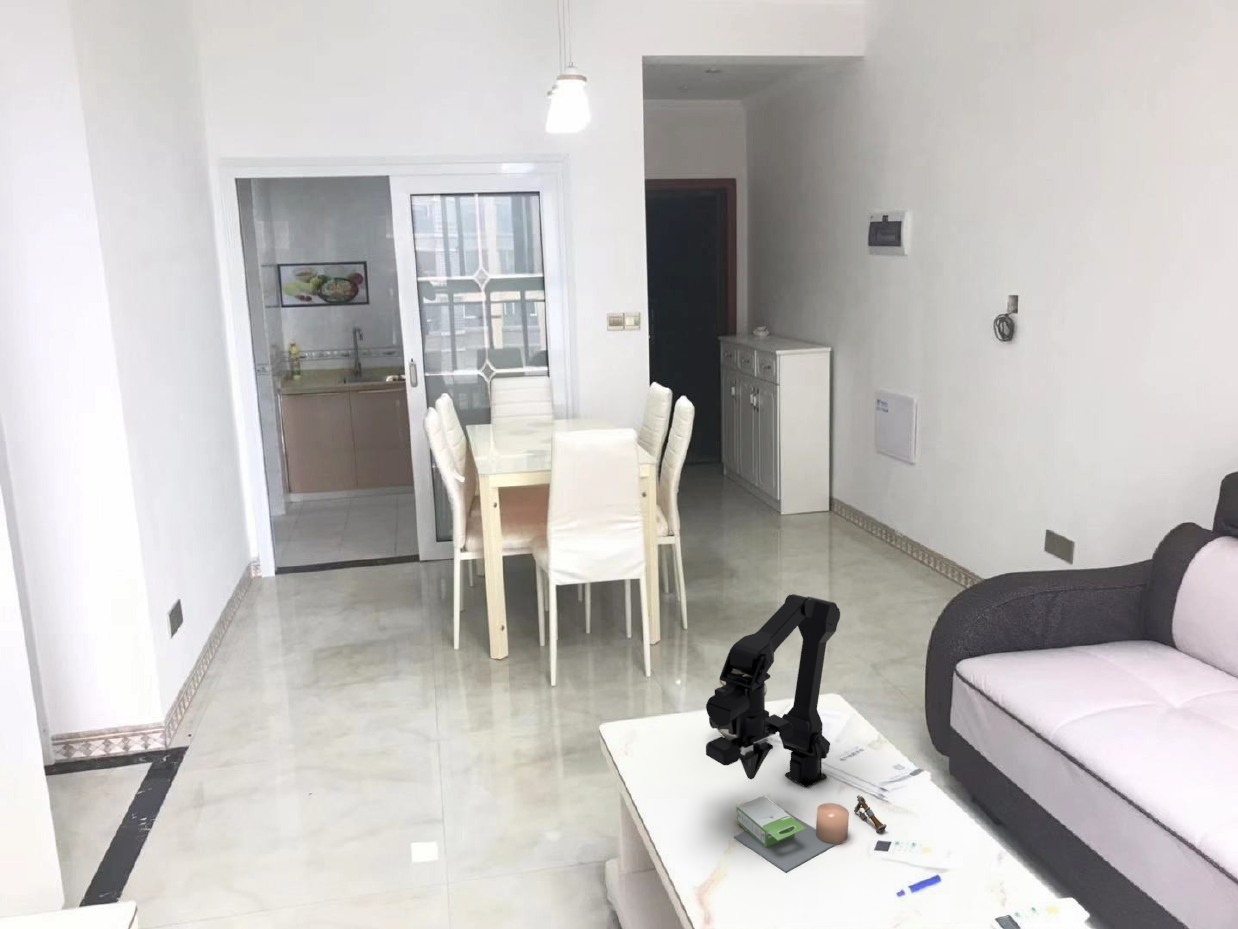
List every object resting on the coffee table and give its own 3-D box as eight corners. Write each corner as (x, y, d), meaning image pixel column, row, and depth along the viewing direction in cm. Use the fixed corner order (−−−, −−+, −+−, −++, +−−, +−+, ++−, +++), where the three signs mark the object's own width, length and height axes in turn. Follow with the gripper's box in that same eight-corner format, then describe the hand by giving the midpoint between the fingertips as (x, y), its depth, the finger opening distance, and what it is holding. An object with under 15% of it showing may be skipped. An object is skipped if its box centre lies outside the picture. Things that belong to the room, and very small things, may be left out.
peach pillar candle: (830, 823, 192) (831, 800, 191) (853, 837, 188) (855, 813, 187) (809, 832, 189) (810, 809, 188) (832, 847, 184) (834, 822, 183)
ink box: (735, 823, 193) (777, 858, 182) (735, 805, 192) (777, 839, 181) (764, 812, 196) (807, 846, 185) (764, 794, 196) (807, 827, 184)
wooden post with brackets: (855, 806, 197) (862, 791, 194) (880, 839, 191) (887, 824, 188) (848, 808, 196) (855, 794, 193) (873, 841, 190) (880, 827, 188)
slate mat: (785, 812, 197) (785, 810, 197) (838, 844, 186) (838, 842, 186) (733, 838, 189) (733, 836, 189) (786, 872, 178) (786, 871, 178)
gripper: (755, 678, 201) (756, 747, 205) (686, 705, 191) (688, 777, 194) (795, 697, 193) (795, 768, 196) (724, 726, 182) (726, 801, 185)
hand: (750, 778), depth 193 cm, fingers closed
